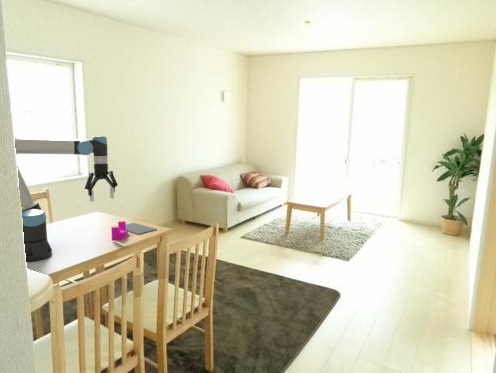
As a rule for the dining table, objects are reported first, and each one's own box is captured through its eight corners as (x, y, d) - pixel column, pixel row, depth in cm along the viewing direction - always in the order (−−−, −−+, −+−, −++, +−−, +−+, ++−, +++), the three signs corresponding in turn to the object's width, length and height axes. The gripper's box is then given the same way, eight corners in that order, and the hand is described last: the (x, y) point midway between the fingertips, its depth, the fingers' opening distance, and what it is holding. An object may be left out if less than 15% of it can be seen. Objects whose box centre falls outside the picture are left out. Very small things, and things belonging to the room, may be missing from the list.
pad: (138, 234, 221) (138, 233, 221) (115, 227, 236) (115, 226, 236) (156, 230, 232) (156, 229, 232) (133, 223, 247) (133, 222, 247)
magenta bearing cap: (122, 240, 211) (122, 227, 210) (111, 240, 211) (111, 227, 209) (129, 232, 226) (129, 221, 225) (119, 232, 225) (119, 221, 224)
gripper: (84, 164, 198) (85, 203, 201) (123, 162, 218) (124, 197, 221) (76, 163, 202) (78, 201, 206) (115, 161, 222) (116, 196, 225)
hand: (102, 199), depth 213 cm, fingers open, 12 cm apart
